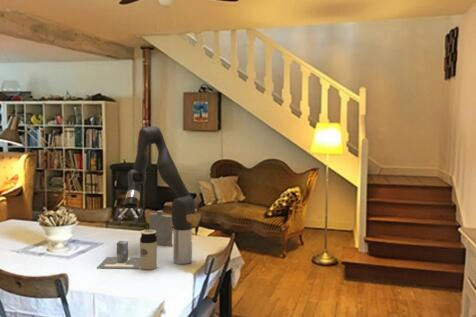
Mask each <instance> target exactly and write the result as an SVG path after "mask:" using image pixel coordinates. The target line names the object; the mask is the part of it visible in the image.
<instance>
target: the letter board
mask: <svg viewBox="0 0 476 317" xmlns="http://www.w3.org/2000/svg"><path fill="white" fill-rule="evenodd" d="M139 268H140V256H139V257H135V256H134V257H131V256H130V257H129V256H128V261H127V262H126V263H117V256H106V258H105V259H104V260H103V261H102V262H101V263H100V264H99V265H98V266H96V269H97V270H98V269H99V270H100V269H103V270H104V269H106V270H108V269H109V270H113V269H114V270H138V269H139Z"/></svg>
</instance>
